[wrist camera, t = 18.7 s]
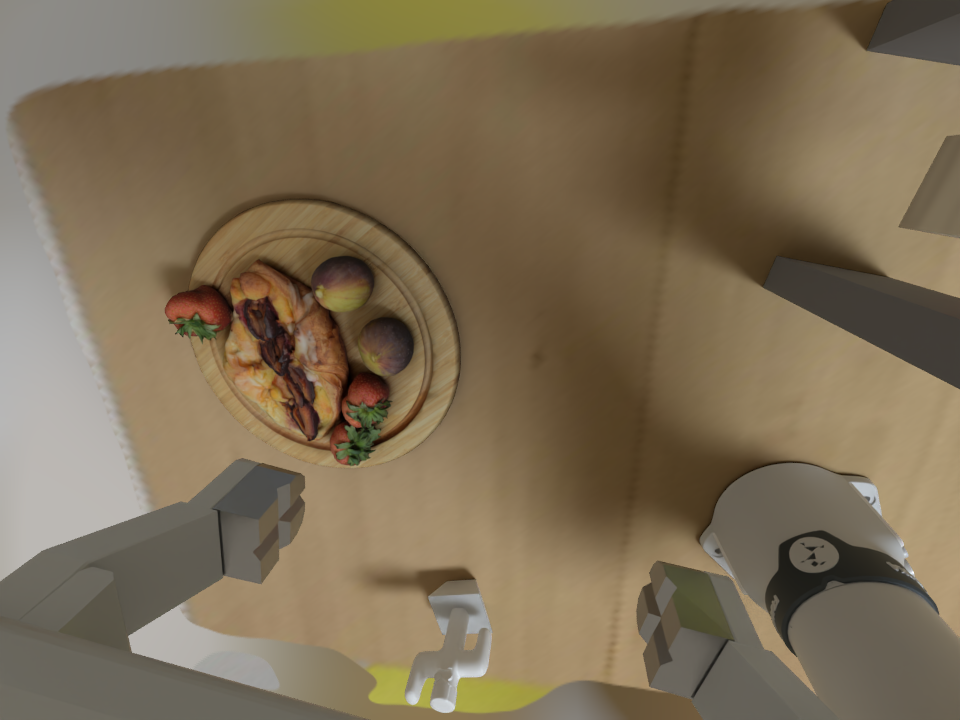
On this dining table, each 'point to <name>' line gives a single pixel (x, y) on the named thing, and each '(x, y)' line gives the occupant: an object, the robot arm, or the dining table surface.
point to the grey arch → (877, 299)
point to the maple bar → (938, 194)
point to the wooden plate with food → (321, 333)
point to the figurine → (452, 644)
